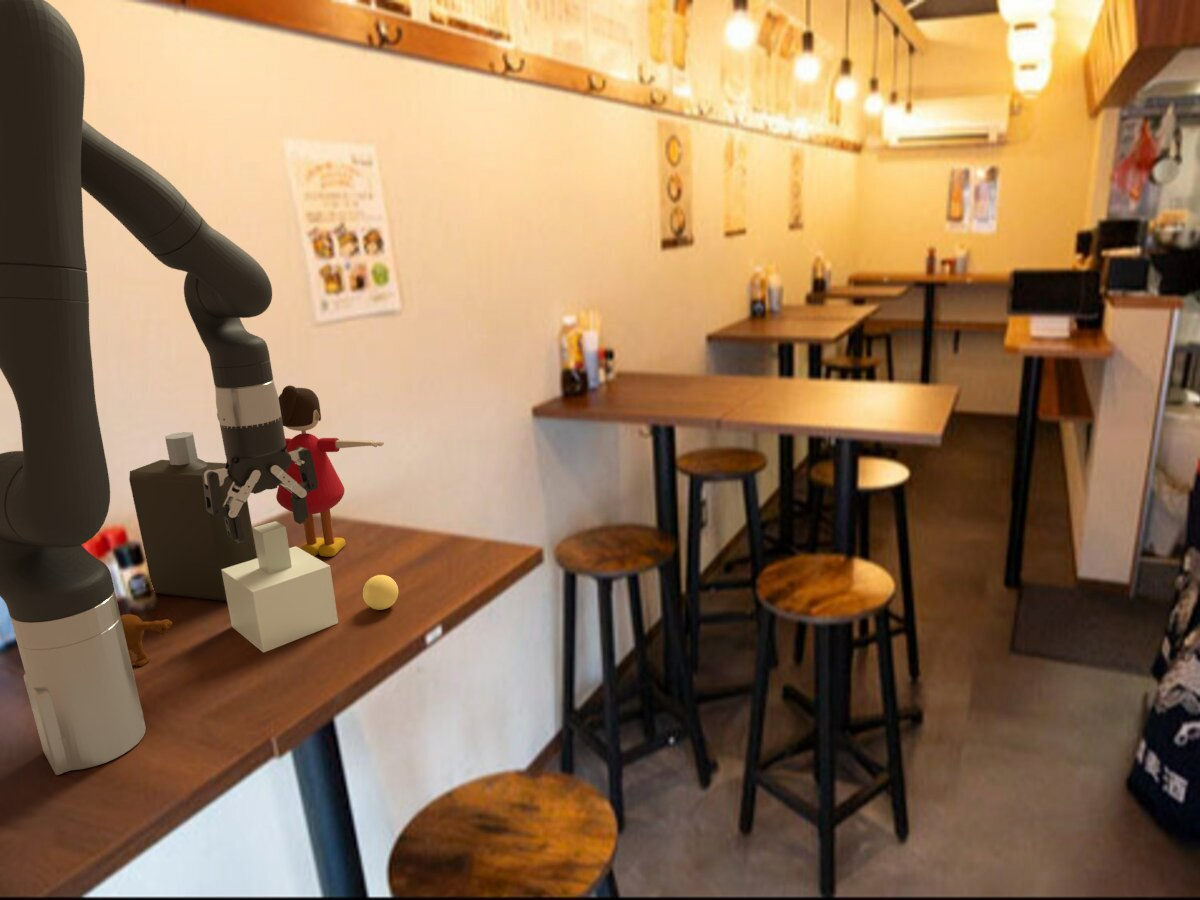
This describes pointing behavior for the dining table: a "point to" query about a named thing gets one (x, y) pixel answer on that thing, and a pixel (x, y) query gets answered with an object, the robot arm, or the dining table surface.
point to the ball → (380, 592)
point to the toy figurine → (140, 635)
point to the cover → (279, 592)
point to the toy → (300, 416)
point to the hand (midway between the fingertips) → (270, 531)
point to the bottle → (186, 524)
